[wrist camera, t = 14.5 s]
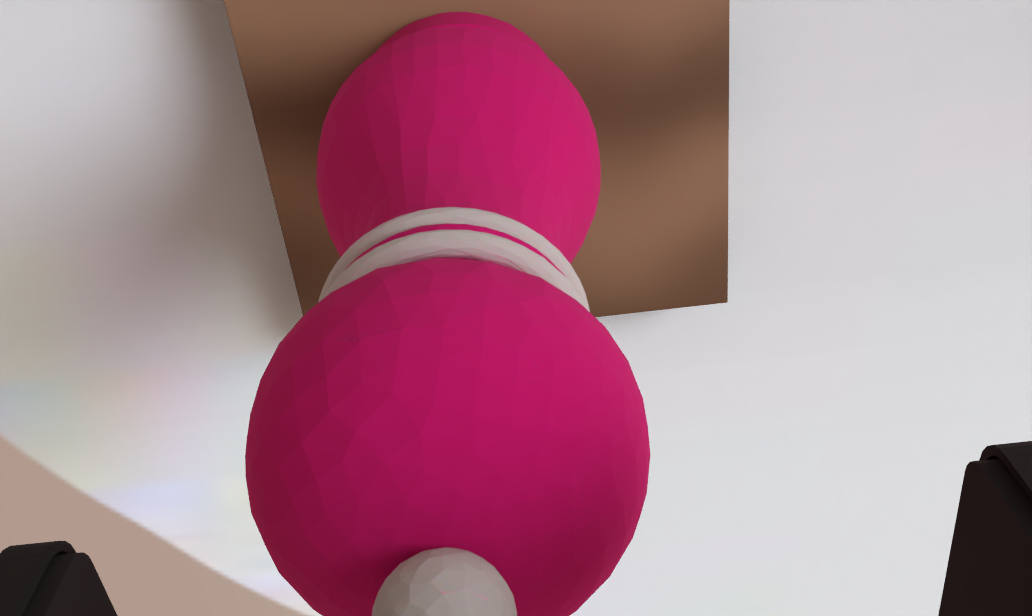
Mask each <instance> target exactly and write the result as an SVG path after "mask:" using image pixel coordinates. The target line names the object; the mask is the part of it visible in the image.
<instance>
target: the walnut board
mask: <svg viewBox="0 0 1032 616" xmlns="http://www.w3.org/2000/svg"><path fill="white" fill-rule="evenodd" d="M224 3H225V7H226V10H227V14H228V18H229V22H230V26H231V30H232V34H233V38H234V42H235V46H236V50H237V54H238V58H239V62H240V66H241V70H242V74H243V78H244V82H245V86H246V90H247V94H248V98H249V102H250V106H251V110H252V114H253V118H254V122H255V126H256V130H257V134H258V137H259V141H260V145H261V149H262V153H263V157H264V161H265V165H266V169H267V173H268V177H269V181H270V185H271V189H272V193H273V197H274V201H275V205H276V209H277V213H278V217H279V221H280V225H281V229H282V233H283V237H284V241H285V245H286V249H287V253H288V257H289V260H290V264H291V268H292V272H293V276H294V280H295V284H296V288H297V292H298V296H299V300H300V304H301V308H302V312H303V316H304V315H305V314H306V312H308V311H309V310H310V309H311V308H313V307H314V306H315V305H316V304H317V303H318V301H319V297H320V294H321V292H322V289H323V286H324V284H325V282H326V280H327V278H328V276H329V274H330V272H331V270H332V269H333V267H334V266H335V264H336V263H337V261H338V260H339V259H340V258H341V257H340V255H339V253H338V251H337V249H336V247H335V245H334V243H333V241H332V239H331V237H330V235H329V232H328V229H327V226H326V223H325V220H324V216H323V213H322V210H321V207H320V204H319V198H318V191H317V184H316V176H317V155H318V148H319V142H320V137H321V132H322V127H323V123H324V120H325V117H326V115H327V112H328V110H329V107H330V104H331V102H332V101H333V99H334V97H335V96H336V94H337V92H338V91H339V89H340V87H341V86H342V84H343V83H344V82H345V81H346V80H347V78H348V77H349V76H350V75H351V74H352V72H353V71H354V70H355V69H356V68H357V67H358V66H359V65H360V64H362V63H363V62H364V61H365V60H366V59H368V58H369V57H370V56H371V55H372V54H374V53H375V52H376V51H377V50H378V49H379V48H380V46H381V45H382V44H383V43H384V42H385V41H387V40H388V39H389V38H390V37H391V36H393V35H394V34H395V33H396V32H397V31H399V30H400V29H402V28H403V27H405V26H407V25H408V24H410V23H412V22H414V21H416V20H420V19H423V18H426V17H429V16H433V15H436V14H439V13H447V12H470V13H476V14H482V15H487V16H490V17H493V18H496V19H499V20H501V21H504V22H507V23H509V24H511V25H513V26H514V27H516V28H517V29H519V30H520V31H522V32H524V33H525V34H526V35H527V36H529V37H530V38H531V39H532V40H533V41H535V42H536V43H537V44H538V45H539V46H540V47H541V49H542V50H543V51H544V53H545V54H546V55H547V57H548V58H549V59H550V60H551V61H552V62H553V63H554V64H555V65H556V66H557V67H558V68H559V69H560V70H561V71H562V72H563V73H564V74H565V75H566V77H567V78H568V79H569V80H570V81H571V83H572V84H573V85H574V87H575V88H576V89H577V90H578V92H579V94H580V96H581V98H582V99H583V101H584V103H585V105H586V107H587V108H588V110H589V113H590V116H591V119H592V122H593V125H594V127H595V130H596V136H597V142H598V147H599V155H600V166H601V182H600V193H599V199H598V204H597V209H596V213H595V216H594V218H593V221H592V223H591V225H590V228H589V230H588V233H587V235H586V237H585V240H584V242H583V245H582V246H581V248H580V250H579V251H578V253H577V255H576V256H575V258H574V260H573V261H572V263H571V266H572V267H573V269H574V271H575V272H576V274H577V276H578V278H579V279H580V281H581V284H582V286H583V289H584V291H585V293H586V297H587V301H588V305H589V309H590V313H591V314H592V315H593V316H594V317H600V316H609V315H618V314H627V313H636V312H645V311H654V310H663V309H672V308H681V307H690V306H699V305H708V304H717V303H726V302H727V290H728V129H729V0H224Z"/></svg>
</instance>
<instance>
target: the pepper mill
mask: <svg viewBox="0 0 1032 616" xmlns="http://www.w3.org/2000/svg"><path fill="white" fill-rule="evenodd" d="M600 182H601V166H600V155H599V147H598V142H597V136H596V130H595V127H594V125H593V122H592V119H591V116H590V113H589V110H588V108H587V107H586V105H585V103H584V101H583V99H582V98H581V96H580V94H579V92H578V90H577V89H576V88H575V87H574V85H573V84H572V83H571V81H570V80H569V79H568V78H567V77H566V75H565V74H564V73H563V72H562V71H561V70H560V69H559V68H558V67H557V66H556V65H555V64H554V63H553V62H552V61H551V60H550V59H549V58H548V57H547V55H546V54H545V53H544V51H543V50H542V49H541V47H540V46H539V45H538V44H537V43H536V42H535V41H533V40H532V39H531V38H530V37H529V36H527V35H526V34H525V33H524V32H522V31H520V30H519V29H517V28H516V27H514V26H513V25H511V24H509V23H507V22H504V21H501V20H499V19H496V18H493V17H490V16H487V15H482V14H476V13H470V12H447V13H439V14H436V15H433V16H429V17H426V18H423V19H420V20H416V21H414V22H412V23H410V24H408V25H407V26H405V27H403V28H402V29H400V30H399V31H397V32H396V33H395V34H394V35H393V36H391V37H390V38H389V39H388V40H387V41H385V42H384V43H383V44H382V45H381V46H380V48H379V49H378V50H377V51H376V52H375V53H374V54H372V55H371V56H370V57H369V58H368V59H366V60H365V61H364V62H363V63H362V64H360V65H359V66H358V67H357V68H356V69H355V70H354V71H353V72H352V74H351V75H350V76H349V77H348V78H347V80H346V81H345V82H344V83H343V84H342V86H341V87H340V89H339V91H338V92H337V94H336V96H335V97H334V99H333V101H332V102H331V104H330V107H329V110H328V112H327V115H326V117H325V120H324V123H323V127H322V132H321V137H320V142H319V148H318V155H317V176H316V184H317V191H318V198H319V204H320V207H321V210H322V213H323V216H324V220H325V223H326V226H327V229H328V232H329V235H330V237H331V239H332V241H333V243H334V245H335V247H336V249H337V251H338V253H339V255H340V257H341V258H340V259H339V260H338V261H337V263H336V264H335V266H334V267H333V269H332V270H331V272H330V274H329V276H328V278H327V280H326V282H325V284H324V286H323V289H322V292H321V294H320V297H319V301H318V303H317V304H316V305H315V306H314V307H313V308H311V309H310V310H309V311H308V312H306V314H305V315H304V316H303V317H302V318H301V319H300V320H299V322H298V323H297V324H296V325H295V326H294V327H293V329H292V330H291V331H290V332H289V333H288V334H287V335H286V337H285V338H284V339H283V340H282V341H281V342H280V344H279V345H278V347H277V349H276V351H275V353H274V355H273V357H272V359H271V361H270V362H269V364H268V366H267V368H266V370H265V372H264V374H263V376H262V378H261V380H260V384H259V387H258V390H257V394H256V397H255V401H254V404H253V407H252V411H251V414H250V421H249V428H248V435H247V444H246V455H245V460H246V481H247V488H248V494H249V501H250V507H251V513H252V516H253V518H254V520H255V522H256V525H257V527H258V529H259V532H260V534H261V536H262V538H263V541H264V543H265V545H266V548H267V550H268V552H269V554H270V556H271V558H272V560H273V561H274V563H275V565H276V567H277V569H278V571H279V573H280V574H281V575H282V576H283V577H284V578H285V580H286V581H287V582H288V583H289V584H290V585H291V586H292V587H293V588H294V589H295V590H296V591H297V592H298V593H299V595H300V596H301V597H302V598H303V599H304V600H305V601H306V602H307V603H308V604H309V605H310V606H311V607H312V608H313V609H314V610H315V611H316V612H318V613H319V614H321V615H322V616H569V615H571V614H573V613H574V612H576V611H577V610H578V609H579V607H580V606H581V605H582V604H583V603H584V602H585V601H586V600H587V599H588V598H589V597H590V596H591V595H592V594H593V593H594V592H595V591H596V590H597V589H598V588H599V587H600V586H601V585H602V584H603V583H604V582H605V581H606V580H607V579H608V578H609V577H610V575H611V574H612V572H613V570H614V569H615V567H616V565H617V563H618V562H619V560H620V558H621V557H622V555H623V553H624V552H625V550H626V548H627V547H628V545H629V543H630V542H631V540H632V538H633V535H634V532H635V529H636V527H637V524H638V521H639V518H640V514H641V511H642V507H643V504H644V500H645V497H646V493H647V484H648V473H649V462H650V447H649V436H648V426H647V421H646V415H645V409H644V403H643V398H642V395H641V393H640V390H639V388H638V385H637V383H636V380H635V377H634V375H633V372H632V370H631V367H630V365H629V362H628V360H627V359H626V357H625V356H624V354H623V353H622V351H621V350H620V348H619V347H618V345H617V344H616V342H615V341H614V339H613V338H612V336H611V335H610V334H609V332H608V331H607V329H606V328H605V327H604V326H603V325H602V324H601V323H600V322H599V321H598V320H597V319H596V318H595V317H594V316H593V315H592V314H591V313H590V309H589V305H588V301H587V297H586V293H585V291H584V289H583V286H582V284H581V281H580V279H579V278H578V276H577V274H576V272H575V271H574V269H573V267H572V266H571V263H572V261H573V260H574V258H575V256H576V255H577V253H578V251H579V250H580V248H581V246H582V245H583V242H584V240H585V237H586V235H587V233H588V230H589V228H590V225H591V223H592V221H593V218H594V216H595V213H596V209H597V204H598V199H599V193H600Z"/></svg>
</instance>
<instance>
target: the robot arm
mask: <svg viewBox="0 0 1032 616" xmlns="http://www.w3.org/2000/svg"><path fill="white" fill-rule="evenodd" d="M0 616H117V614H116V612H115V610H114V608H113V605H112V604H111V601H110V599H109V597H108V595H107V593H106V591H105V588H104V586H103V584H102V582H101V580H100V578H99V576H98V573H97V571H96V569H95V567H94V565H93V563H92V561H91V559H90V558H89V556H88V555H86V554H85V553H76V552H75V550H74V549H73V547H72V546H71V544H69V543H68V542H66V541H54V542H44V543H35V544H25V545H16V546H9V547H8V548H6V549H4V550H3V551H2V552H1V553H0ZM939 616H1032V441H1028V442H1019V443H1009V444H999V445H991V446H987V447H986V448H985V449H984V450H983V451H982V454H981V457H980V461H973V462H970V463H969V464H968V465H967V467H966V470H965V474H964V480H963V485H962V491H961V496H960V501H959V507H958V512H957V518H956V523H955V529H954V534H953V540H952V545H951V550H950V556H949V561H948V567H947V572H946V578H945V583H944V589H943V594H942V599H941V605H940V610H939Z"/></svg>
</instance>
